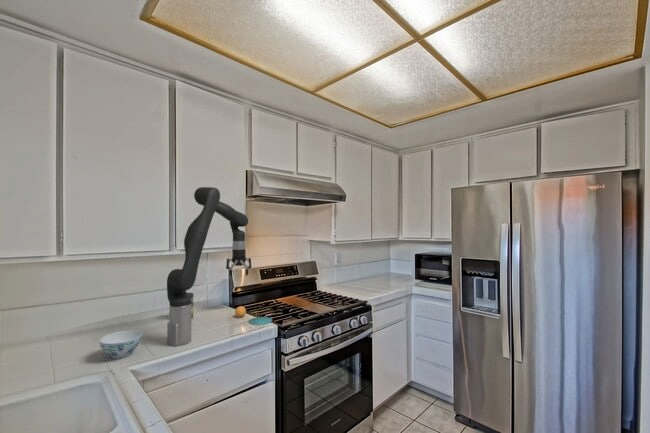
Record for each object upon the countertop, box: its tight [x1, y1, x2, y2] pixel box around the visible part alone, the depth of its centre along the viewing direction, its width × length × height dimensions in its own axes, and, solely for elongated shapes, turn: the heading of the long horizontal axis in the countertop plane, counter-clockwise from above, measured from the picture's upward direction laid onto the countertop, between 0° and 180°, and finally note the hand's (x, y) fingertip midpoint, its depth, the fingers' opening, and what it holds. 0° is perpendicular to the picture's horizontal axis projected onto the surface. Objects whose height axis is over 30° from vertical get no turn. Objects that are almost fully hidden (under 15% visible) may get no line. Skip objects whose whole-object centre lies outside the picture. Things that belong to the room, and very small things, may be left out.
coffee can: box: [187, 292, 195, 320], centre depth 176 cm, size 10×10×14 cm
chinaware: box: [98, 329, 143, 359], centre depth 129 cm, size 15×15×8 cm
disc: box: [248, 316, 273, 326], centre depth 173 cm, size 13×13×1 cm
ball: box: [234, 306, 247, 318], centre depth 180 cm, size 6×6×6 cm
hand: (238, 275), depth 184 cm, fingers open, 8 cm apart
